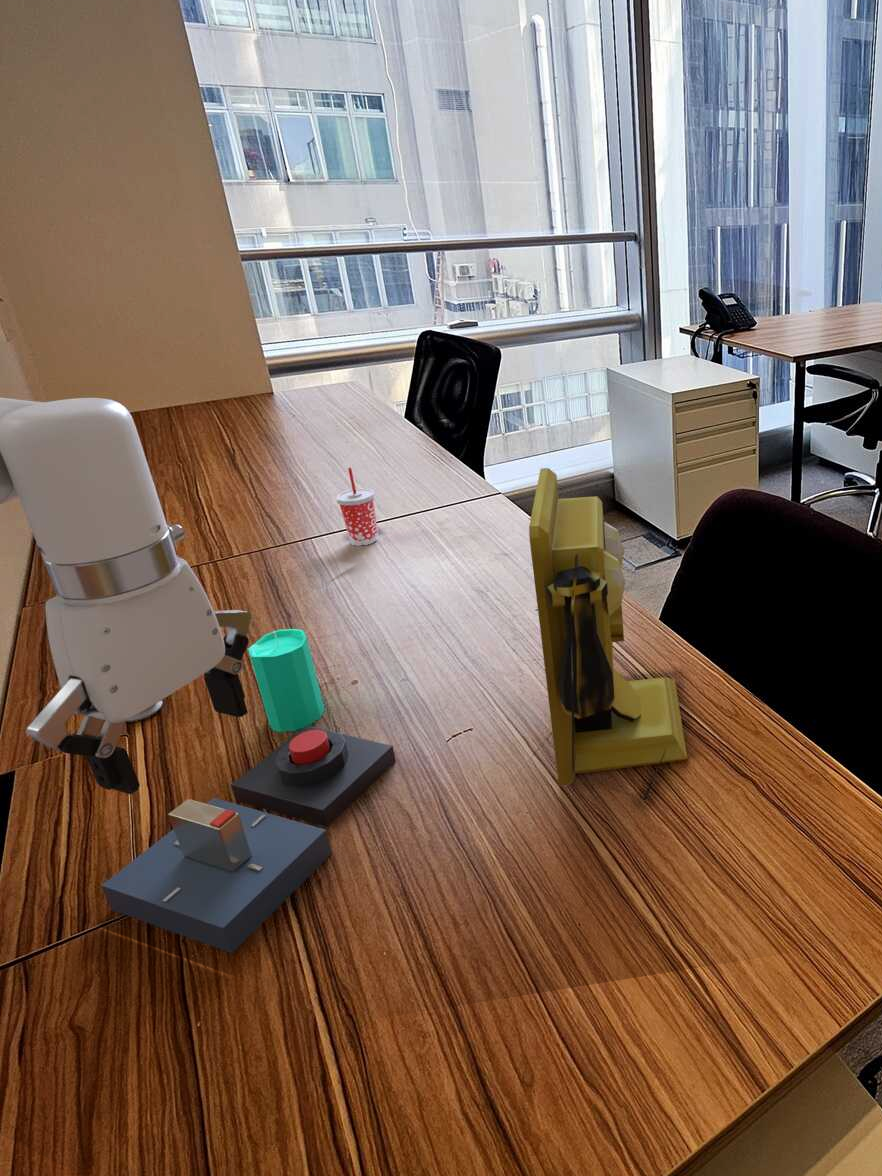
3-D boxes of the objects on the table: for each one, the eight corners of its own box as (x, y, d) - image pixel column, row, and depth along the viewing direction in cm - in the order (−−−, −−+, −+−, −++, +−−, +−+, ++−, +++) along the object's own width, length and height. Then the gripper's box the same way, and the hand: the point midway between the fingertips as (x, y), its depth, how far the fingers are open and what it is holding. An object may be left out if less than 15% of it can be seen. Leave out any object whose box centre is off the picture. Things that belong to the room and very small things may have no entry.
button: (284, 761, 81) (280, 748, 81) (311, 739, 84) (307, 726, 84) (311, 768, 80) (307, 755, 80) (337, 746, 83) (334, 733, 83)
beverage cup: (365, 549, 137) (350, 475, 132) (338, 545, 139) (322, 471, 134) (390, 536, 142) (376, 464, 137) (363, 531, 144) (349, 460, 139)
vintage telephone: (697, 825, 77) (688, 556, 66) (555, 844, 75) (520, 569, 64) (670, 653, 106) (660, 444, 95) (566, 663, 104) (544, 451, 93)
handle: (182, 856, 70) (166, 811, 69) (202, 840, 72) (187, 796, 70) (233, 872, 69) (218, 827, 67) (252, 855, 71) (238, 810, 69)
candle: (309, 695, 98) (287, 612, 93) (334, 712, 95) (313, 627, 90) (259, 720, 93) (234, 634, 89) (284, 739, 90) (259, 651, 85)
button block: (235, 801, 81) (225, 770, 80) (310, 740, 90) (303, 712, 88) (327, 827, 78) (319, 796, 76) (396, 761, 86) (390, 732, 85)
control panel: (111, 910, 69) (100, 884, 68) (221, 820, 79) (213, 796, 77) (232, 953, 65) (222, 926, 64) (332, 853, 75) (325, 828, 73)
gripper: (185, 515, 67) (237, 681, 73) (-56, 614, 52) (35, 812, 58) (252, 525, 65) (299, 695, 71) (20, 631, 50) (107, 835, 56)
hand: (180, 748), depth 65 cm, fingers open, 9 cm apart
